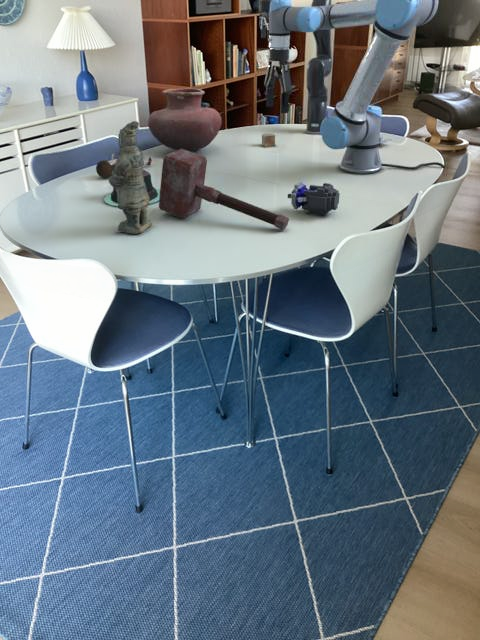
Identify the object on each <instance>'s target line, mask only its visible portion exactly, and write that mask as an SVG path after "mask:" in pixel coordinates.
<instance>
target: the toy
mask: <svg viewBox="0 0 480 640" xmlns="http://www.w3.org/2000/svg"><path fill="white" fill-rule="evenodd" d="M293 187H294V188H293V189H292V191H291V193H288V194H287V199H291V200H290V201H291V202H290V203H291V206H292V207H293V210H298V209H299V208H301V210H303V211H306V212H307V214H310V215H311V214H312V215H318V216H326V215H328V213H330V212H331V211H336V210H337V209H338V205H339V204H340V194H341V193H340V190H338V189H337V188H335V187H334V184H332V183H328V182H324V183H322V185H315V184H310V185H309V186H308V187H309V188H308V187H307V185H306V184H305V183H304V181H301V180H299V181H298V182H296V183H295V184H294V186H293Z"/></svg>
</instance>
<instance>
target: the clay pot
mask: <svg viewBox="0 0 480 640" xmlns="http://www.w3.org/2000/svg"><path fill="white" fill-rule="evenodd" d="M205 92H206V91H204V90H202V89H199V88H193V87H191V88H189V87H187V88H172V89H163V90H162V92H161V93H162V94H163V95H165V97H166V99H167V105H166V107H165V108H163V109H159V110H155V111H153V112H151V113H150V114H149V116H148V117H147V119H148V120H147V127H148V129H149V131H150V133H151V135H152V136H153V137H154V138H155V139H156V140H157V142H159V143H160V144H161V145H163V146H165V147H166V148H169V149H171V150H174V151H177V150H179V149H184V150H187V151H190V152H192V153H194V152H197V151H201V150H202V149H204V148H206V147H207V146H209V145H210V144H211V143H212V142H213V141H214V139H215V138H216V137H217V136H218V133H219V131H220V129H221V127H222V122H223V120H222V116H221V114H220V113H219V112H218V111H217V110H216V109H215V108H212V107H202V99H203V96H204V94H205Z"/></svg>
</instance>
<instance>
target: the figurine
mask: <svg viewBox="0 0 480 640" xmlns="http://www.w3.org/2000/svg"><path fill="white" fill-rule="evenodd" d="M114 157H115V153H112V154H111V160H105V159H103V160H99V161H98V162H97V163H96V166H95V172H96V174H97V175H98V177H100V178H102V179H108V178H111V176H112V173H113V172H114V170H115V164H116V162H114ZM152 160H153V159H152V157H151V156H149V157H148V160H147V161H146V162H144V166H151V165H152Z"/></svg>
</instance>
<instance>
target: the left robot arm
mask: <svg viewBox="0 0 480 640" xmlns="http://www.w3.org/2000/svg"><path fill="white" fill-rule="evenodd" d="M271 1H272V0H258V11H259V12H261V13H259V17H258V20H259V22H258V23H259V26H258V27H259V28H260V34H261V36H260V37H261V38H262V39H266V37H267V40H268V39H269V11H270V2H271ZM327 5H332V0H312V2H311V4H310V7H312V6H327ZM312 35H313V37H314V41H315V48H316V51H315V57H312V58H311V59H310V60H309V61H308V63H307V65H306V89H307V107H306V108H307V109H306V110H307V111H306V130H305V131H306V133H307V134H311V135H321V133H320V127H321V123H322V121H323V120H324V119H325V118H326V117H327V116H329V115H328V113H329V112H328V97H329V96H328V95H329V88H328V87H327V86H326V85H325V78H327V77H329V76H330V74H331V73H332V71H333V57H332V29H330V30H315V31H314V32H312Z"/></svg>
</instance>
